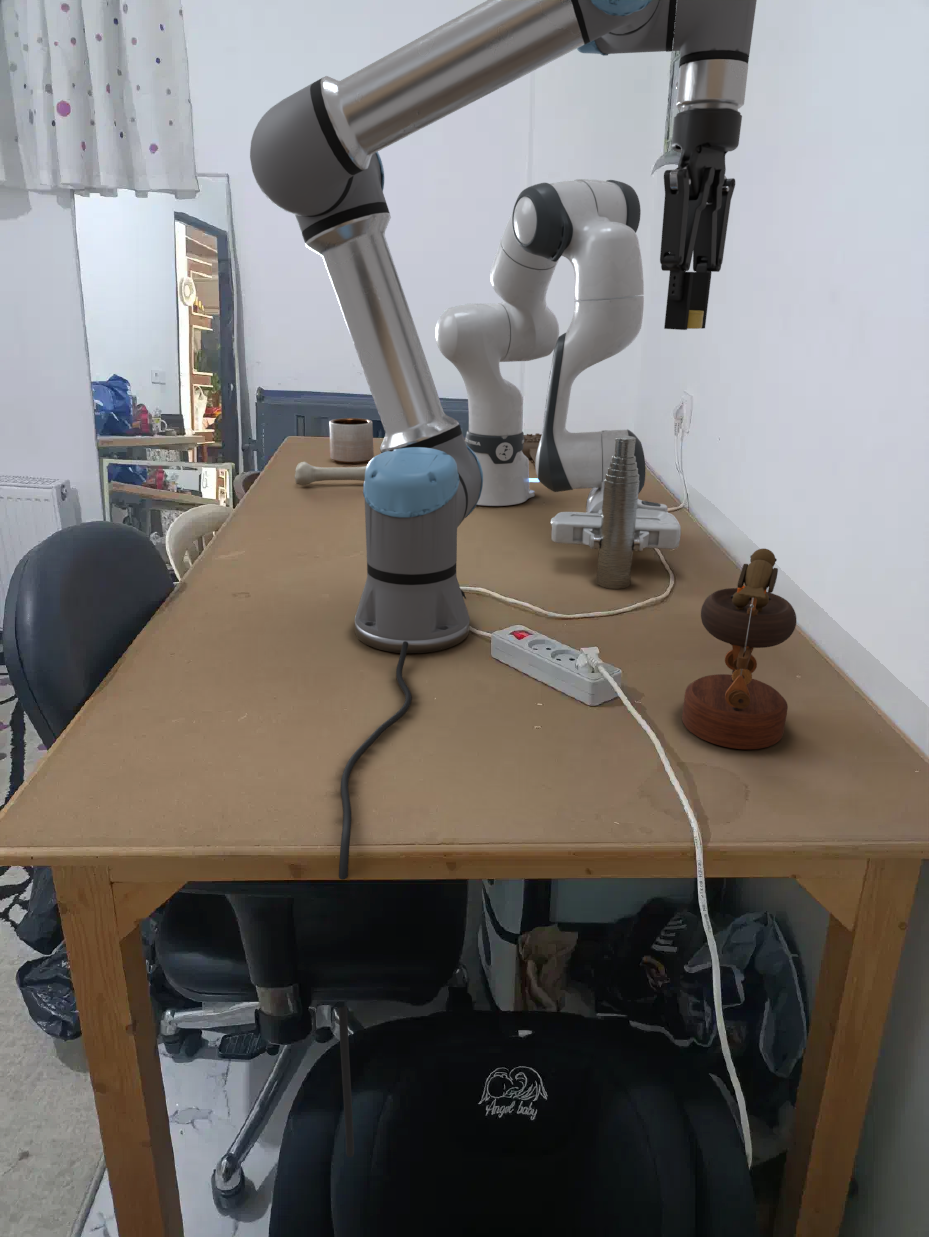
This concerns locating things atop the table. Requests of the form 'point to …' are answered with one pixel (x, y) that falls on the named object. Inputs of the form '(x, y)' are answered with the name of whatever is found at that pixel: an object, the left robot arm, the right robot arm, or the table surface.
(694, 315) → the cap
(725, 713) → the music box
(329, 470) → the dog toy
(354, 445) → the planter
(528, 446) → the ice cream bar
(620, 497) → the bottle
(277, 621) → the table surface
